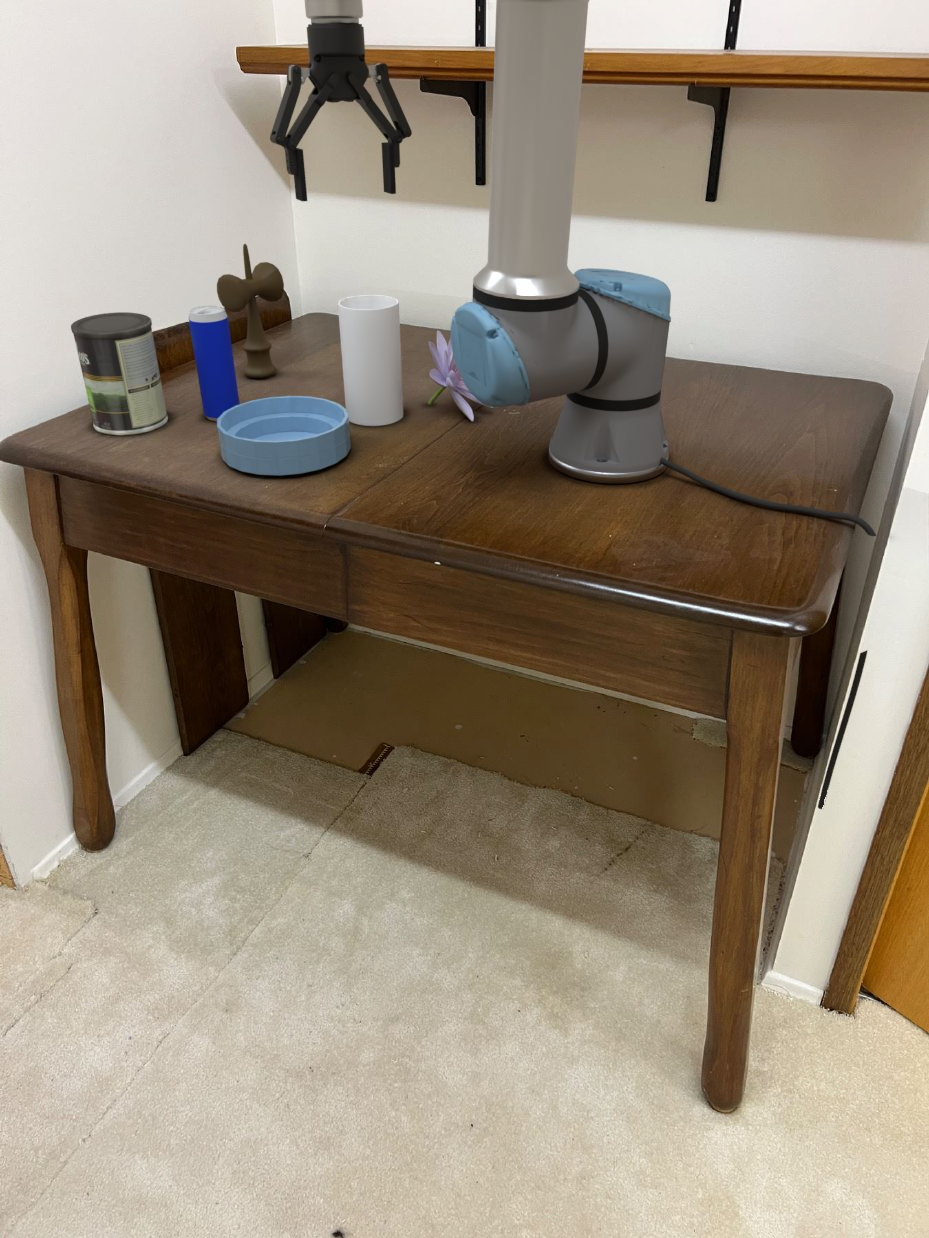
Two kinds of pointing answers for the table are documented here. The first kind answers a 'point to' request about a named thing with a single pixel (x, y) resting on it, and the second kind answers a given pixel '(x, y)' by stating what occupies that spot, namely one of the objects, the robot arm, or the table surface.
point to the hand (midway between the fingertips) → (346, 196)
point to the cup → (371, 359)
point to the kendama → (253, 309)
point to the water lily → (449, 376)
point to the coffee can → (120, 372)
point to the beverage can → (214, 360)
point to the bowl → (284, 435)
